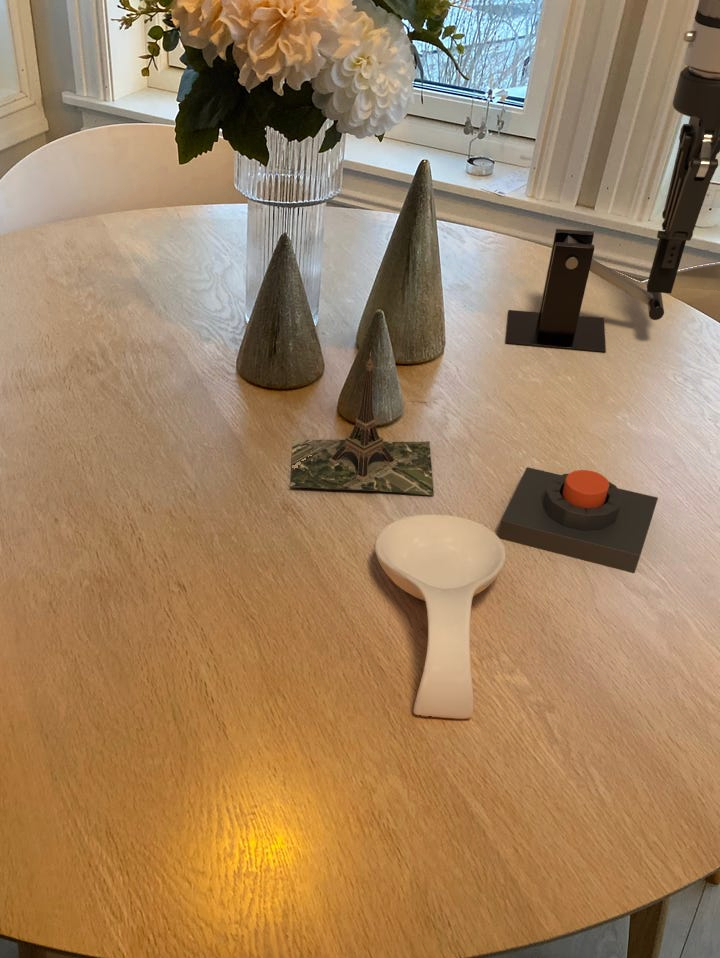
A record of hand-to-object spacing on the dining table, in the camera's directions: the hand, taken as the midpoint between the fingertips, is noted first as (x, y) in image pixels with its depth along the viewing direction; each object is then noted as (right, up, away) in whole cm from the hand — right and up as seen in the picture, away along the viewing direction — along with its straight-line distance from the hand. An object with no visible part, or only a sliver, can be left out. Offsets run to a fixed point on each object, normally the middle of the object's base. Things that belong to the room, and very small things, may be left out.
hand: (658, 289), depth 119 cm
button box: (-17, -31, -21) cm, 41 cm away
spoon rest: (-33, -41, -30) cm, 60 cm away
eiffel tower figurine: (-37, -24, -13) cm, 46 cm away
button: (-17, -28, -23) cm, 41 cm away
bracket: (-10, -4, +7) cm, 13 cm away
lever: (-6, +1, +1) cm, 6 cm away
